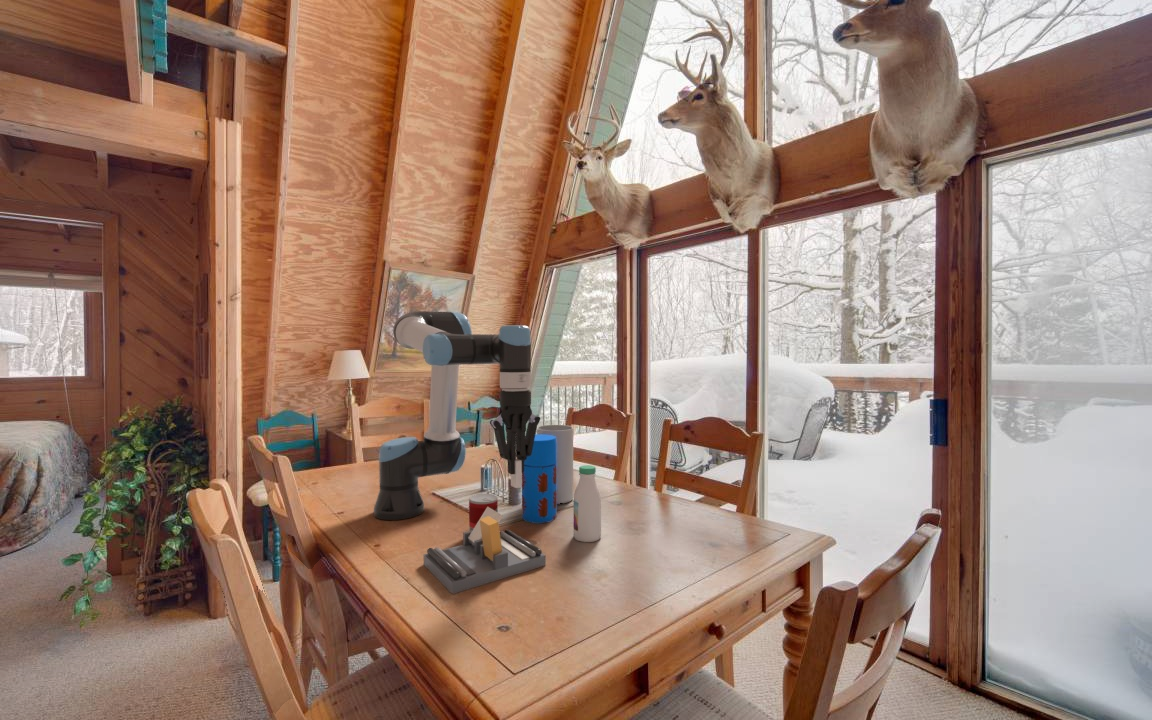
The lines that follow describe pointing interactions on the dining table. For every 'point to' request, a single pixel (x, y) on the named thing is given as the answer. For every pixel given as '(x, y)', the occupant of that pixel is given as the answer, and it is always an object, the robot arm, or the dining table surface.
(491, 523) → the block
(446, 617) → the dining table surface
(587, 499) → the milk bottle
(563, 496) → the cylinder vase
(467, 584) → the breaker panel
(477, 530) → the block
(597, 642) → the dining table surface
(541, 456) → the thermos
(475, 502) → the canned food
